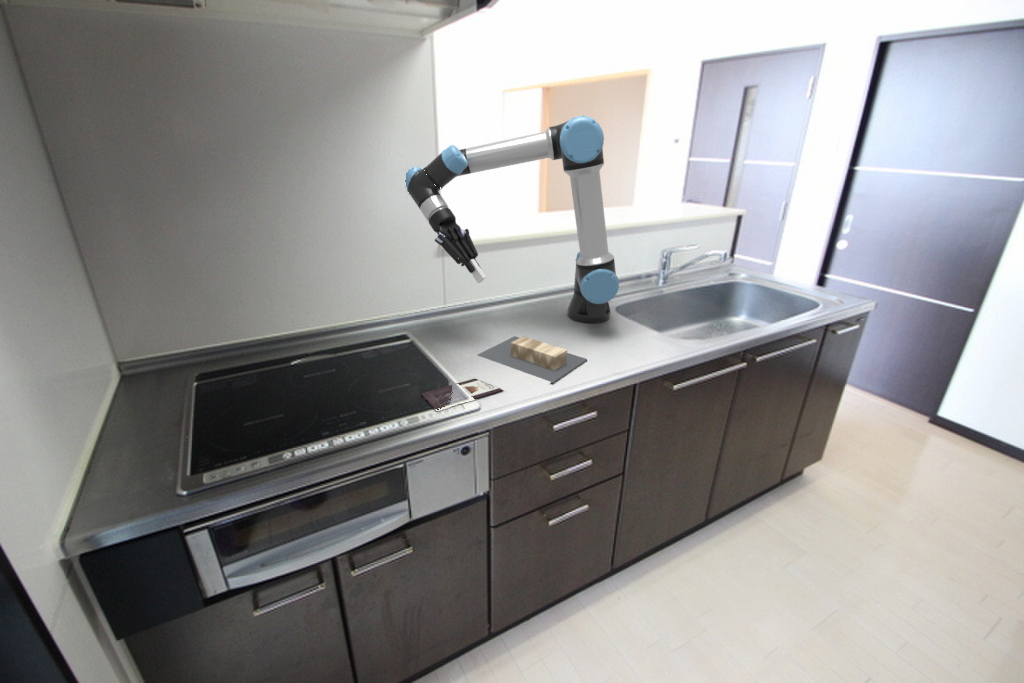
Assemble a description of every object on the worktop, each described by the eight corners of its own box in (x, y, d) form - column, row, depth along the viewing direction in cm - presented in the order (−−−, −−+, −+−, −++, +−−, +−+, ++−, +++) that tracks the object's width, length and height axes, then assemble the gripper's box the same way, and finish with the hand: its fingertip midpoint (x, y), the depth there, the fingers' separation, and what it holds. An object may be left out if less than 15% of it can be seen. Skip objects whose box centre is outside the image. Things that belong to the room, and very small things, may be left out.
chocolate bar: (420, 393, 116) (484, 375, 126) (420, 396, 117) (484, 379, 126) (436, 410, 109) (502, 390, 119) (436, 413, 110) (502, 393, 119)
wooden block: (510, 342, 135) (555, 357, 127) (523, 336, 140) (567, 349, 132) (510, 355, 137) (554, 370, 129) (523, 348, 141) (566, 362, 133)
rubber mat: (476, 356, 137) (476, 354, 137) (514, 337, 150) (514, 336, 150) (552, 384, 123) (553, 382, 123) (587, 360, 136) (587, 359, 136)
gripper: (447, 220, 148) (488, 282, 146) (416, 225, 138) (460, 292, 136) (460, 204, 143) (503, 268, 141) (428, 208, 133) (474, 277, 131)
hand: (481, 280), depth 138 cm, fingers closed
